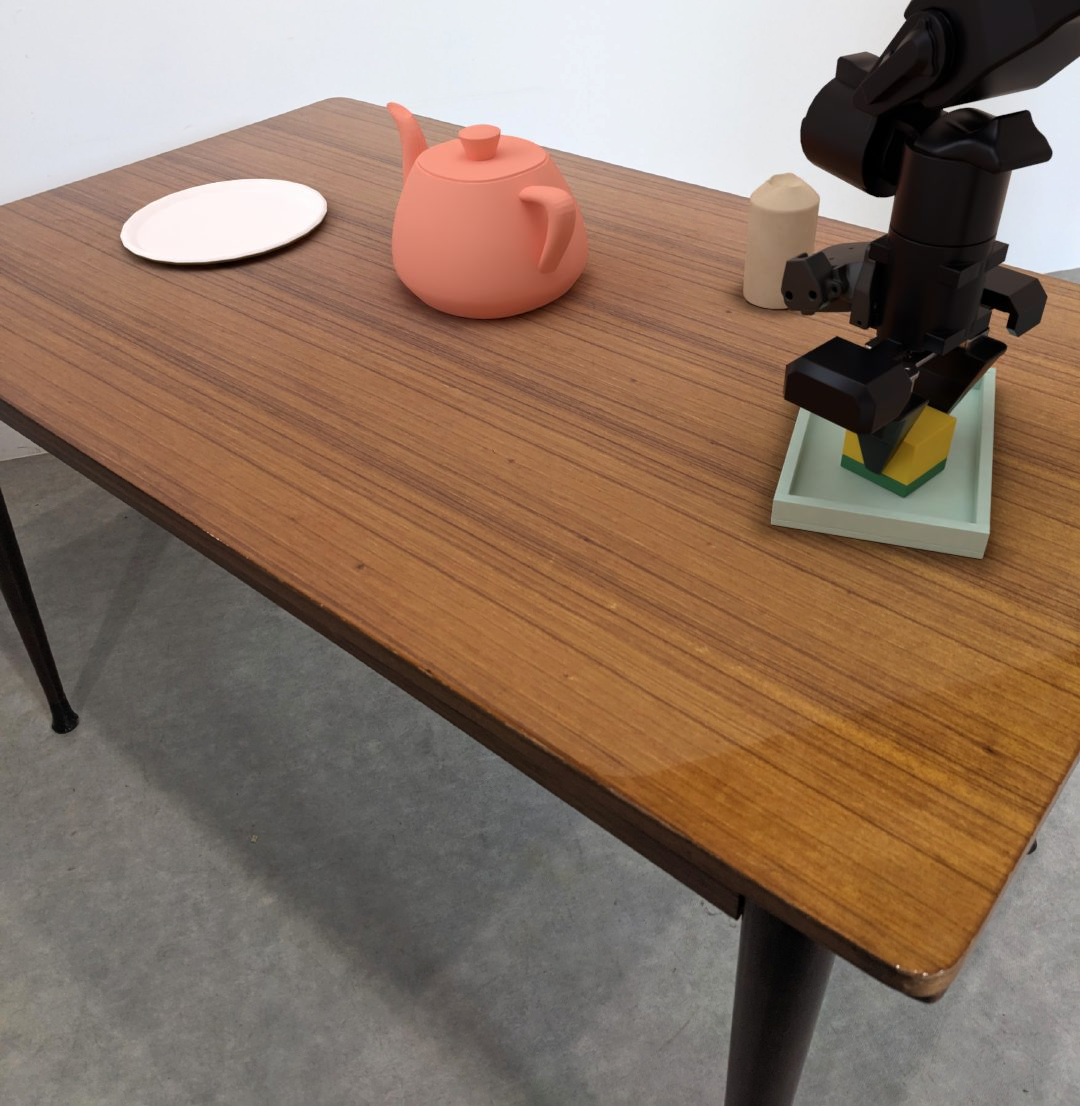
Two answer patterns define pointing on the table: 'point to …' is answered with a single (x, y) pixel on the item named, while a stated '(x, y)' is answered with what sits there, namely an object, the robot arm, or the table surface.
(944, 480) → the tray
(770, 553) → the table surface
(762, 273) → the candle
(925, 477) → the sponge
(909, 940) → the table surface
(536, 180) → the teapot
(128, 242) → the plate
